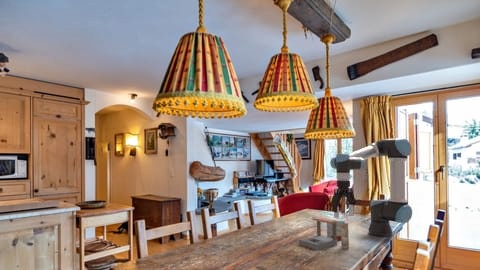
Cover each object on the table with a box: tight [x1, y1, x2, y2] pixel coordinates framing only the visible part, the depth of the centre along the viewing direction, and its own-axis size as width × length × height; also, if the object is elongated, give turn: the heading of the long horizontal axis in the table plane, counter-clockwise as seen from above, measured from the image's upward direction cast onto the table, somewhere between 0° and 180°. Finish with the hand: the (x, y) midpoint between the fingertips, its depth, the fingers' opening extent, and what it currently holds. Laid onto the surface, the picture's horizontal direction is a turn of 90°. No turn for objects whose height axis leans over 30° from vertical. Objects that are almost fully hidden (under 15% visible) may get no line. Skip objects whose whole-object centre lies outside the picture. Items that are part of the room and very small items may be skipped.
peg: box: [340, 222, 350, 250], centre depth 176 cm, size 4×4×14 cm
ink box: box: [326, 218, 346, 241], centre depth 198 cm, size 9×9×12 cm
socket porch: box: [298, 216, 338, 251], centre depth 183 cm, size 18×14×14 cm
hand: (344, 217), depth 177 cm, fingers open, 13 cm apart
